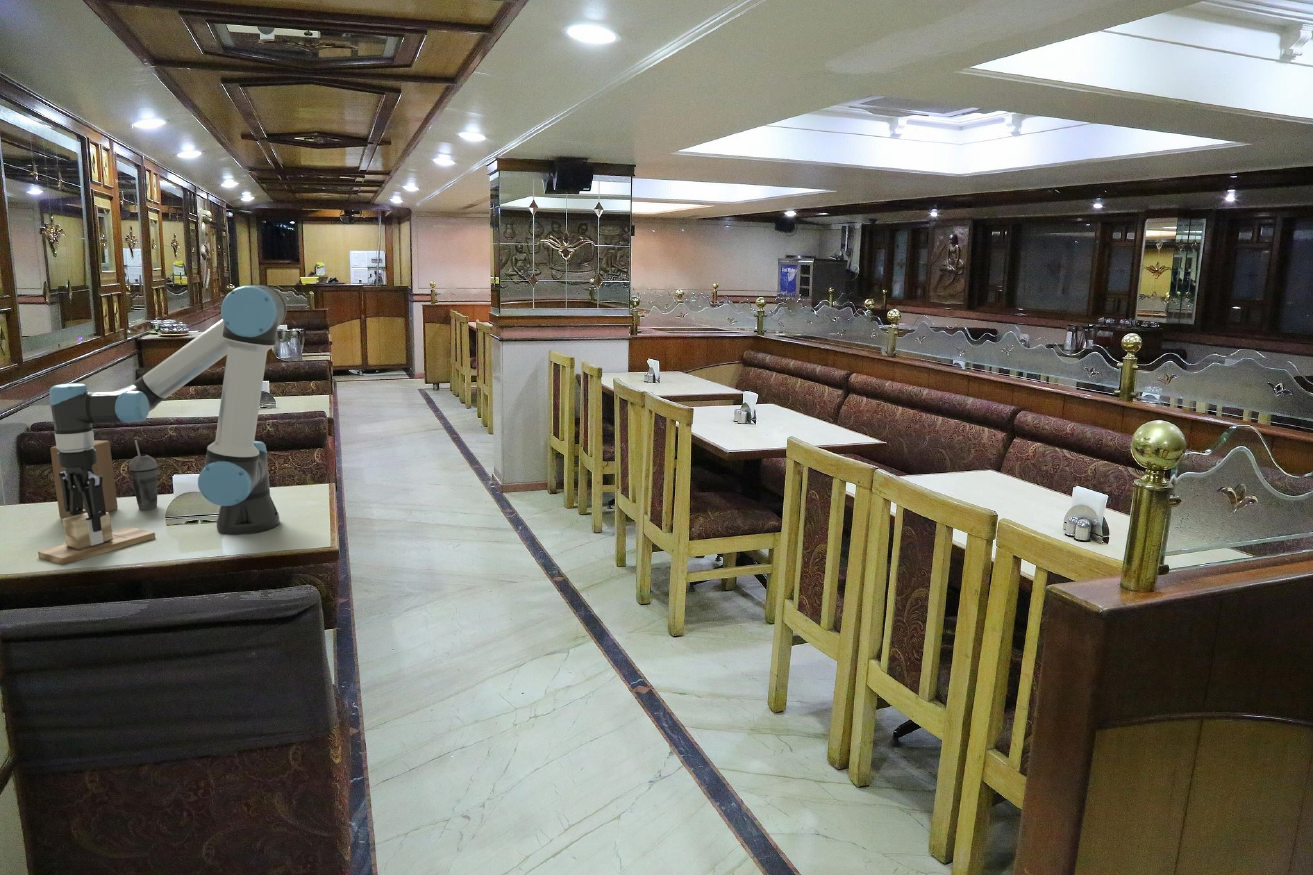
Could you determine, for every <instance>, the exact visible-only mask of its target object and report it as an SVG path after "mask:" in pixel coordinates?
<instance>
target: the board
mask: <svg viewBox="0 0 1313 875" xmlns="http://www.w3.org/2000/svg"><path fill="white" fill-rule="evenodd" d="M112 536H113V540H111V541H108V542H104V543H101V544H98V545H94V546H91V547H87V548H84V549H80V550H78V549H74V548H70V547H67V545H66V543H65V544H62V545H58V546H55V547H50V548H46V549H41V550H39V551H37V556H38V558H39V559H41V560H47V561H48V562H49V561H50V562H53V563H57V564H60V565H66V564H70V563H73V562H77V561H81V560H84V559H87V558H91V557H94V556H97V555H101V554H104V553H108V552H112V551H115V550H118V549H122V548H126V547H129V546H132V545H136V544H140V543H143V542H147V541H149V540H153V539H156V532H154V531H150V530H146V529H140V528H136V527H132V526H129V527H125V528H122V529H117V530H114V531H113V530H112Z"/></svg>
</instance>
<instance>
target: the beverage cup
mask: <svg viewBox="0 0 1313 875" xmlns="http://www.w3.org/2000/svg"><path fill="white" fill-rule="evenodd" d="M134 443H135V448H136V451H137V456H135V457H133V458H132V459H131V460H130V463H129V466H128V472H129V476H130V478H131V480H132V486H133V489H134V490H133V491H134V494H135V498H136V504H137V507H138V510H140V511H150V510H154V509H157V508H158V473H159V472H158V470H159V466H158V463H157V461H156V460H155V459H154V457H152V456H150V455H148V454H141V452H140V448H139V445H138V440H134Z"/></svg>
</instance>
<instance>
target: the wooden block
mask: <svg viewBox="0 0 1313 875" xmlns="http://www.w3.org/2000/svg"><path fill="white" fill-rule="evenodd" d="M94 443H95V445H94V446H93V448H95V449H96V455H97V462H96V463H95V464H93V465H92V469H93V471H94V475H95V476H97V477H98V476H102V478H103V481H102V488H103V495H104V502H105V509H106V512H108V513H110V512H112V511H113V512H114V511H116V510H118V506H119V505H118V501H117V500H118V499H117V491H116V485H115V484H116V482H115V476H114V468H113V459H112V453H111V452H112V451H111V445H110V444H111V443H110V441H109V440H95V439H94ZM49 450H50V455H51V464H52V469H53V477H54V486H55V491H56V492H55V493H56V499H57V507H58V513H59V518H60V519H64V518H68V517H72V515H70V512H66V511H65V506H64V499H63V492H62V485H61V480H60V477H59V473H60V472H65V471H66V468H63V467H61V466H60V465H59V459H58V452H59V451H60V450H58V449H57V446H56V445H55V446H54V445H53V446H52V447H50V449H49ZM67 481H68V480H67ZM85 488H88V487H85ZM69 506H70V505H69ZM83 509H84V510H86V507H85V503H84V500H83ZM84 513H87V510H86V512H84ZM81 514H83V513H81Z"/></svg>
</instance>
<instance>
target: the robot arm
mask: <svg viewBox="0 0 1313 875" xmlns="http://www.w3.org/2000/svg"><path fill="white" fill-rule="evenodd" d="M287 310H288V308H287V302H286V300H285V298H284V296H283V295H282V294H281V293H280V292H279V291H278V289H275V288H274V287H271V286H269V285H267V284H266V285H265V284H254V285H251V284H247V285H241V286H238V287H236V288H234V289H233V290H232V291H230V292H228V293H227V295H226V296H225V297H224V299H223V301H222V303H221V307H220V313H221V315H220V316H221V319H220V320H219V321H217V322H216V323H215V324H213V325H212V326H210V327H209V328H208V329H206V330H205V331H203V332H202V333H201V334H198V335H197V336H195V338H193V339H192V340H191V341H189V342H188V343H186V344H185V345H184V346H182V347H181V348H180V349H178V350H177V351H176V352H174V353H173V354H172V355H170V356H169V357H167V358H166V359H164V360H163V361H161V362H160V363H158V364H157V365H156V366H155V367H153V368H152V369H150V370H149V371H147V372H146V373H145V374H143V375H142V376H140V377H139V378H137V380H134V381H133V382H132V383H130V384H129V385H127V386H125V387H123V388H119V389H117V390H115V391H99V392H96V391H89V389H88V386H87V385H86V384H84V383H74V382H73V383H62V384H56V385H53V386H51V387H50V389H49V402H50V403H49V404H50V405H49V407H50V410H51V411H50V412H51V416H52V422H53V427H54V438H55V444H56V445H55V446H57V449H58V450H60V451H59V452H58V459H59V465H60V466H61V467H63V468H66V471H65V472H60V473H59V477H60V480H61V485H62V492H63V499H64V506H65V511H66V512H70V515H72V516H76V515H80V514H81V513H83V514H84V512H86V510H87V513H88V517H89V518H86V520H87V526H88V533H89V540H90V545H91V546H93V545H96V544H100V543H103V535H102V527H101V520H100V518H101V517H102V516H105V515H106V509H105V502H104V495H103V488H102V481H103V478H102V476H98V477H97V476H95V475H94V471H93V469H92V465H93V464H95V463H96V462H97V455H96V449H95V448H93V446H94V445H95V443H94V440H95V438H94V436H95V432H94V429H93V428H94V427H93V424H95V425H96V424H125V423H126V424H132V423H141V422H144V421H146V420H147V419H148V418H147V417H148V415H149V412H150V411H153V410H154V409H155V408H156V407H157V406H158V405H159V404H160V403H162V402H163V401H164V400H165V399H167V398H168V397H170V396H171V395H173V394H174V393H175V392H177V391H178V390H179V389H181V388H182V387H184V386H185V385H186V384H188V383H189V382H190V381H192V380H194V379H195V378H196V377H197V376H199V375H200V374H202V373H203V372H204V371H206V370H208V369H209V368H210V367H212V366H213V365H215V364H216V363H217V362H218V361H220V360H222V359H223V358H225V357H226V359H225V366H224V375H223V380H222V390H221V397H220V403H219V412H218V419H217V426H216V427H217V428H216V432H215V433H216V434H215V440H214V441H213V442H212V443H210V444H209V445H207V448H206V455H205V462H204V467H203V468H202V469H201V470H200V472H199V474H198V477H197V486H198V490H199V492H200V494H201V495H202V496H203V497H204V498H205V499H206V500H207V501H208V502H209V503H211V504H214V505H216V506H219V510H218V517H217V519H216V530H217V532H219V533H222V534H227V535H246V534H255V533H259V532H265V531H267V530H270V529H273V528H275V527H277V526H278V525H279V524H280V522H281V521H280V514H279V512H278V509H277V507H276V505H275V503H274V501H273V498H272V497H271V491H270V489H271V488H270V479H269V478H270V477H269V476H270V475H269V466H268V463H269V462H268V451H267V447H266V446H267V445H266V444H265V443H264V442H263V441H260V440H259V441H257V440H256V438H255V437H256V432H257V425H258V418H259V413H260V412H259V411H260V405H261V403H260V402H261V396H262V392H263V383H264V382H263V381H264V376H265V369H266V362H267V355H268V351H269V350H271V349H272V348H274V347H275V346H276V341H277V335H278V334H277V333H278V328H279V327H280V326H281V325H282V324H283V322H284V320H285V318H286V316H287V312H288V311H287ZM67 480H68V481H67ZM85 487H88V488H85ZM83 500H84V503H85V507H86V510H84V509H83ZM69 505H70V506H69Z"/></svg>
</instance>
